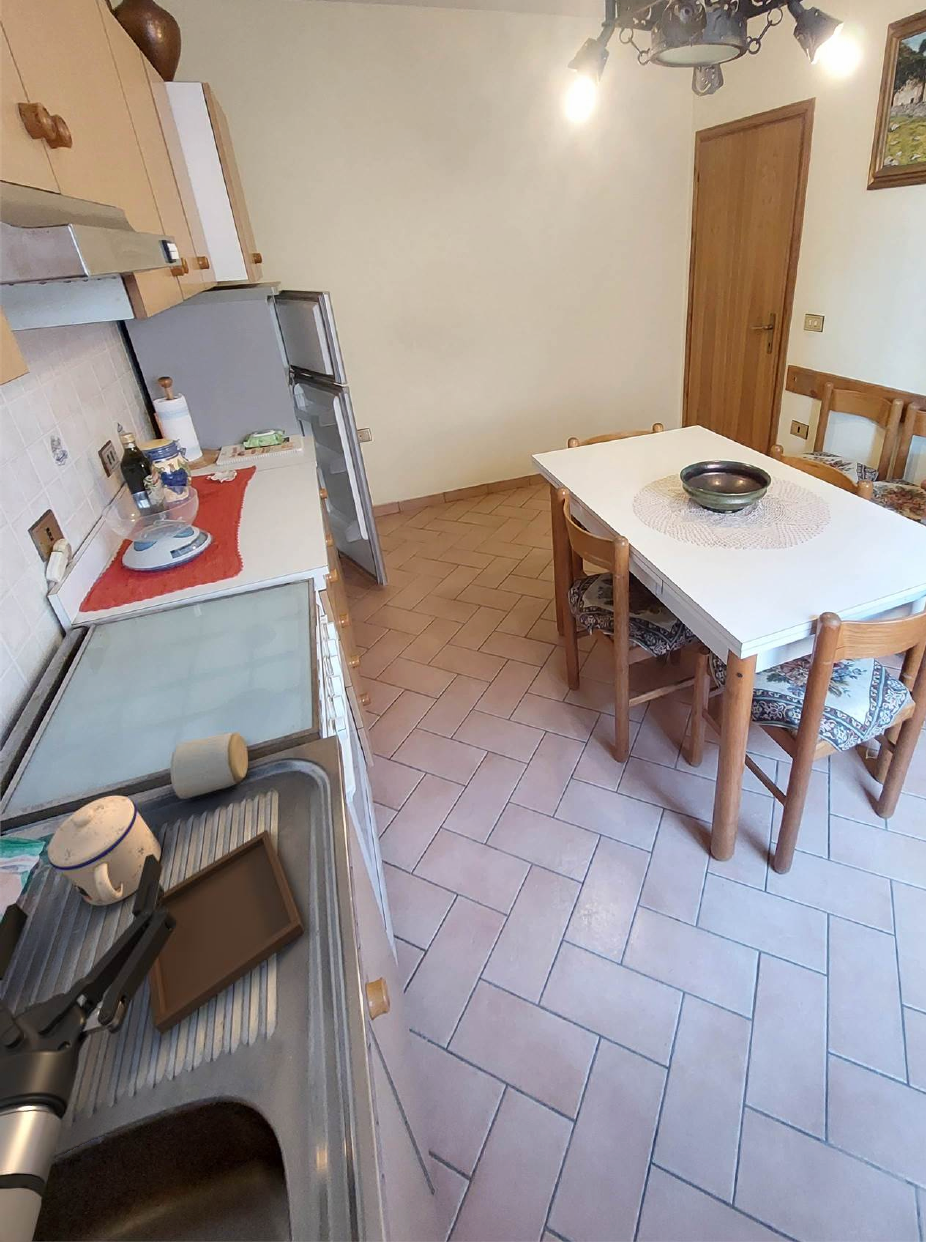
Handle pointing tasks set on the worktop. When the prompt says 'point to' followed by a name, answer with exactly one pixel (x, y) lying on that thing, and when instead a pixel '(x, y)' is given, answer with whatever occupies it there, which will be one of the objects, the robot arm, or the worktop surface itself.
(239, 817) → the worktop surface
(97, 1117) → the worktop surface
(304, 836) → the worktop surface
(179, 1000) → the rectangular tray
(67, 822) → the teacup with lid
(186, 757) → the ceramic mug
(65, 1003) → the robot arm
